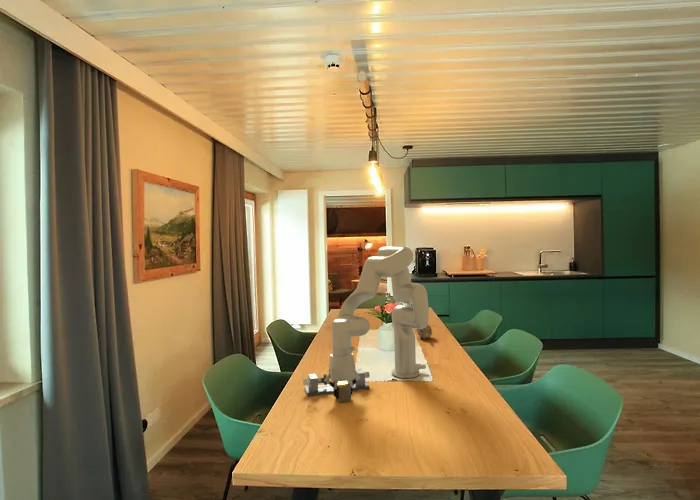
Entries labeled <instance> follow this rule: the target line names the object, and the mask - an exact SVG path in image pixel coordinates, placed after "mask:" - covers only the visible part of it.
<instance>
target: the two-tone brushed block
mask: <svg viewBox="0 0 700 500" xmlns="http://www.w3.org/2000/svg"><path fill="white" fill-rule="evenodd" d="M337 389H338V399H336V400H337V401H338V403H339V404H344V403H345V404H346V403H351V402H352V395H351V386H350V385H349V384H348V382H347V381H338V385H337Z"/></svg>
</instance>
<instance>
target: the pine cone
mask: <svg viewBox="0 0 700 500" xmlns="http://www.w3.org/2000/svg"><path fill="white" fill-rule="evenodd" d="M415 331H416V334H417V335H418V336H419V337H420V338H421V339H422V338H423V340H426V339H430V338H431V336H432V335H433V329H432V327H431V325H430V323H428V325H427V326H426V327H425V328H423V329H415Z"/></svg>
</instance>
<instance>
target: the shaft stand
mask: <svg viewBox="0 0 700 500" xmlns="http://www.w3.org/2000/svg"><path fill="white" fill-rule="evenodd" d="M355 369H356V372H357V373H358V374H359V376H360V377H361V378H360V379H359V380H358V381H356V383H355V384H354V385H353V387H352V392H354V391H363V390H369V389H370V385H369V384H368V383H367V382H366V379H369V378H370V372H369V371H364V370H363V368H355ZM307 375H308V376H307V378H303V379H302V385H303V386H304V391H305V394H306V396H307V397H313V396H321V395H328V394H330V395H331V394H334V389H333V387H332V386H330V385H329V384H327V383H326V382H325V381H324V380H325V378H326V377H327V374H326V373H323V376H319V377H318V376H317V374H316V373H308V374H307ZM347 382H348V380H347Z"/></svg>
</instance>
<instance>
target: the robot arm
mask: <svg viewBox="0 0 700 500" xmlns="http://www.w3.org/2000/svg"><path fill="white" fill-rule="evenodd" d="M413 260H414V252H413V251H412V249H411V248H410V247H407V246H382V247H380V248H378V250H377V253H376V256H370V257H368V258H367V259H365V262H364V265H363V266H362V267H363V268H362V271H361V273H360V277H359V280H358V282H357V286H356V289H355V290H353V292H352V293H351V294H350V295H349V296H348V297H347V298H346V299H345V300H344V301H343V303H342V305H341V307H340V310H339V313H338V316H337V318H336V319H333V320H332V322H331V346H332V347H331V351H332V353H331V354H330V356H329V362H328V363H329V364H328V374H326V376H327V377H326V378H325V380H324V381H325V382H326V383H327V384H329V385H330V386H332V387H333V389H334V393H333V397H335V399H336V400H337V399H338V389H337V385H338V381H347V380H348V384H349V385H350V386H351V396H352V395H353V391H352V387H353V385H354V384H355V383H356V381H358V380H359V379H360V378H361V377H360V376H359V374H358V373H357V372H356V369H357V368H356V362H355V357H354V356H355V355H354V353H353V351H356V346H352V337H362V336H365V335H366V334H367V333H369V331H370V327H371V326H370V324H371V323H370V322H369V320H368V319H367V318H365V317H362V316H358V315H354V313H355V311H356V309H357V308H358V307H359V306H360V305H361V304H363V303H366V302H367V301H369V300H371V299H373V298H374V297H376V295H377V292H378V289H379V286H380V282H381V280H382V278H390V281H391V289H392V297H393V299H394V301H396V303H400V304H399V305H395V307H393V309H392V311H391V320H392V321H391V322H392V326H393V335H394V336H393V338H394V342H393V343H394V368H393V369H392V370H391V374H392V376H393V377H395V376H396V378H399V379H414V378H417V377H418V376H420V370H423V369H424V370H425V369H427V364H421V363H417V360H416V359H417V356H416V355H417V354H416V353H417V352H416V350H417V349H416V334H415V331H414V329H415V330H417V329H423V328H425V327H426V326H427V325H428V324H429V321H430V311H429V301H428V299H429V298H428V291H427V290H426V287H425V286H424V285H423V284H421V283H418V282H412V281H411V280H412V279H411V276H410V275H411V274H410V270H409V266H410V265H411V264H412V263H413ZM406 304H407V305H406Z"/></svg>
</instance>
